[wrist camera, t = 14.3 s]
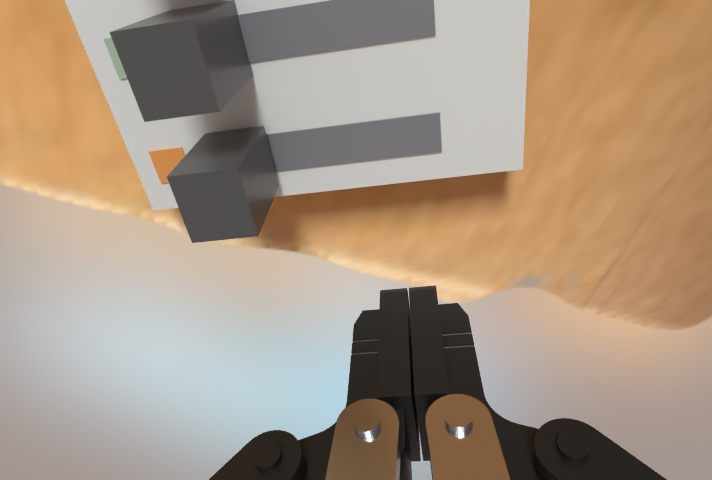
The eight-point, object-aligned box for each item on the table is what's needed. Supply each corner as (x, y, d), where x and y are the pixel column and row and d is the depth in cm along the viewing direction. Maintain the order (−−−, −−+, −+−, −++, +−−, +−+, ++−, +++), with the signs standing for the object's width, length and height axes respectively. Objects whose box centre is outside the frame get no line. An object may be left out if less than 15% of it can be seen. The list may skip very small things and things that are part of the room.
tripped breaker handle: (264, 125, 23) (237, 168, 19) (279, 185, 25) (257, 236, 21) (205, 133, 24) (166, 176, 19) (223, 191, 25) (192, 242, 21)
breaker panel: (519, -243, 18) (605, -354, 11) (509, 147, 27) (555, 224, 20) (45, -144, 21) (-131, -184, 14) (173, 186, 29) (105, 268, 22)
